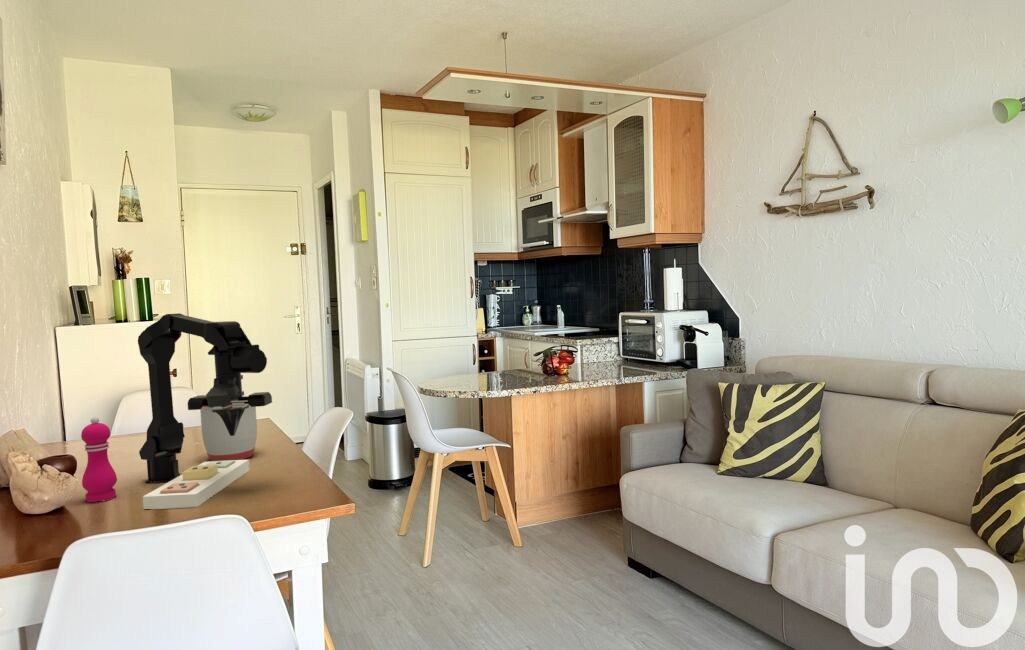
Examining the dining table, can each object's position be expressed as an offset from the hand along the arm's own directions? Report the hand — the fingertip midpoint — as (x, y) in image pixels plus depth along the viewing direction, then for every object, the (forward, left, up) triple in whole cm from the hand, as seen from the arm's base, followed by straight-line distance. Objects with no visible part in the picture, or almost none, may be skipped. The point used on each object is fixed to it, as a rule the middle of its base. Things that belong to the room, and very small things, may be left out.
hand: (232, 435), depth 170 cm
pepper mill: (-31, -4, -13) cm, 34 cm away
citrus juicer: (-14, +34, -13) cm, 39 cm away
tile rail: (-9, +1, -13) cm, 16 cm away
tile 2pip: (-9, +1, -10) cm, 14 cm away
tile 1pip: (-9, +12, -12) cm, 19 cm away
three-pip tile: (-9, -10, -12) cm, 18 cm away
